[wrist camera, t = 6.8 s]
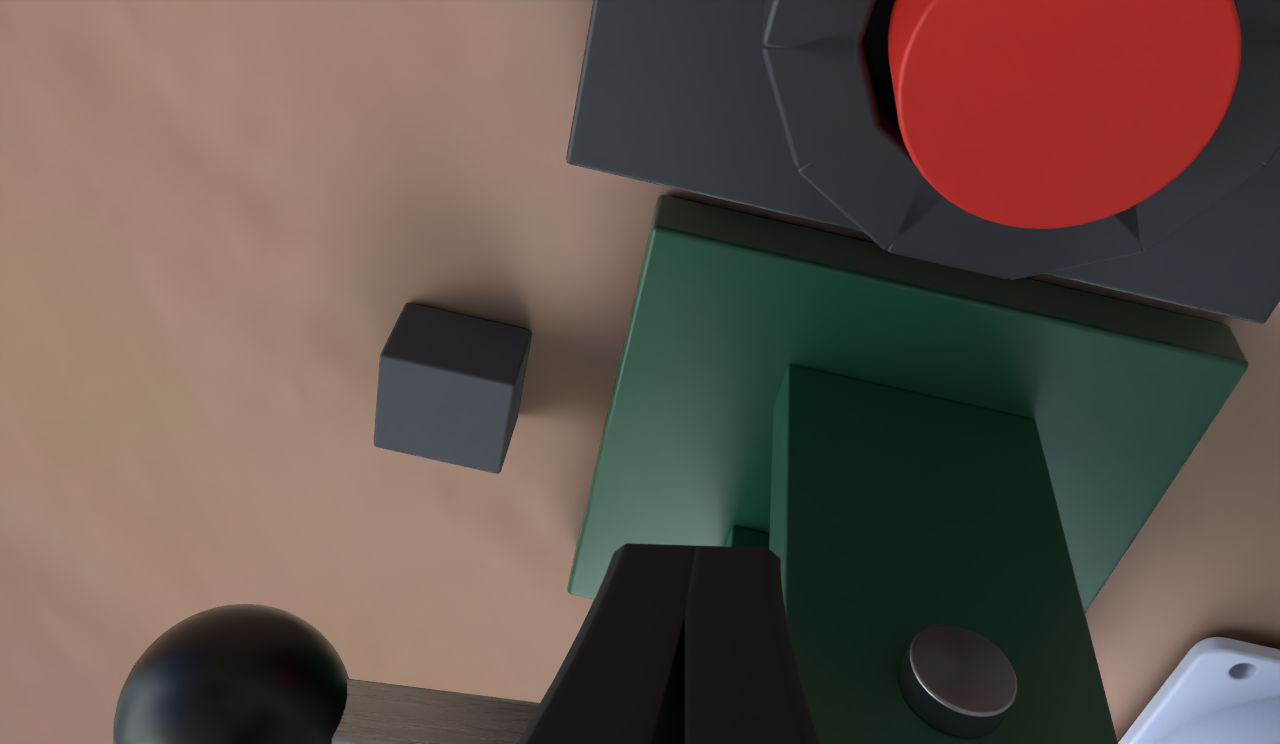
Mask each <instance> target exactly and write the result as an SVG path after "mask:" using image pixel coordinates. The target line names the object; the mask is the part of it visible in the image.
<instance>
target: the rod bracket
mask: <svg viewBox="0 0 1280 744" xmlns="http://www.w3.org/2000/svg"><path fill="white" fill-rule="evenodd" d="M1247 367H1248V361H1247V359H1246V357H1245V356H1244V354H1243V352H1242V350H1241V348H1240V346H1239V344H1238V342H1237V340H1236V338H1235V336H1234V334H1233V332H1232V331H1231V329H1230V327H1228V326H1227V325H1225V324H1221V323H1216V322H1212V321H1208V320H1203V319H1199V318H1195V317H1190V316H1186V315H1182V314H1177V313H1173V312H1169V311H1164V310H1160V309H1156V308H1151V307H1147V306H1143V305H1138V304H1134V303H1130V302H1125V301H1121V300H1117V299H1112V298H1108V297H1104V296H1099V295H1095V294H1091V293H1086V292H1082V291H1078V290H1073V289H1069V288H1065V287H1060V286H1056V285H1052V284H1048V283H1043V282H1039V281H1035V280H1030V279H1026V278H1020V279H1015V280H1010V279H1009V278H1008V279H1002V278H997V277H993V276H989V275H984V274H980V273H976V272H971V271H967V270H963V269H958V268H954V267H950V266H945V265H941V264H937V263H932V262H928V261H924V260H919V259H915V258H911V257H906V256H902V255H898V254H893V253H890V252H888V251H887V249H886V250H884V249H882V248H881V247H880V246H879V245H878V244H874V243H870V242H866V241H861V240H857V239H853V238H848V237H844V236H840V235H835V234H831V233H827V232H822V231H818V230H814V229H809V228H805V227H801V226H796V225H792V224H788V223H783V222H779V221H775V220H770V219H766V218H762V217H757V216H753V215H749V214H744V213H740V212H736V211H731V210H727V209H723V208H718V207H714V206H710V205H705V204H701V203H697V202H692V201H688V200H684V199H679V198H675V197H671V196H666V195H661V196H660V197H659V198H658V199H657V204H656V208H655V212H654V217H653V221H652V225H651V229H650V234H649V238H648V242H647V247H646V251H645V255H644V259H643V264H642V268H641V272H640V276H639V281H638V285H637V289H636V294H635V298H634V302H633V306H632V311H631V315H630V319H629V324H628V328H627V332H626V336H625V341H624V345H623V349H622V353H621V358H620V362H619V366H618V371H617V375H616V379H615V383H614V388H613V392H612V396H611V401H610V405H609V409H608V413H607V418H606V422H605V426H604V430H603V435H602V439H601V443H600V448H599V452H598V456H597V460H596V465H595V469H594V473H593V478H592V482H591V486H590V490H589V495H588V499H587V503H586V507H585V512H584V516H583V520H582V525H581V529H580V533H579V537H578V542H577V546H576V550H575V555H574V559H573V564H572V568H571V573H570V578H569V582H568V587H567V590H568V593H570V594H572V595H577V596H582V597H586V598H591V599H595V597H596V595H597V592H598V590H599V588H600V586H601V583H602V581H603V579H604V576H605V574H606V571H607V569H608V566H609V564H610V561H611V559H612V556H613V553H614V552H615V551H616V550H618V549H619V548H620V547H622V546H623V545H624V544H626V543H632V544H662V545H693V546H724V547H755V548H768V549H770V550H771V551H772V552H773V553H774V554H776V555H777V556H778V557H779V558H781V583H782V591H783V600H784V606H785V612H786V618H787V624H788V629H789V634H790V638H791V643H792V648H793V652H794V656H795V660H796V664H797V668H798V672H799V676H800V680H801V684H802V688H803V691H804V695H805V698H806V702H807V705H808V708H809V712H810V715H811V719H812V722H813V725H814V728H815V731H816V734H817V737H818V740H819V743H820V744H1118V742H1117V738H1116V734H1115V730H1114V726H1113V722H1112V718H1111V714H1110V711H1109V707H1108V703H1107V699H1106V695H1105V691H1104V687H1103V683H1102V679H1101V675H1100V671H1099V667H1098V663H1097V659H1096V656H1095V652H1094V648H1093V644H1092V640H1091V636H1090V632H1089V628H1088V624H1087V620H1086V616H1085V613H1086V611H1087V609H1088V608H1089V606H1090V605H1091V603H1092V602H1093V600H1094V599H1095V597H1096V596H1097V594H1098V593H1099V591H1100V590H1101V588H1102V587H1103V585H1104V584H1105V582H1106V581H1107V579H1108V578H1109V576H1110V575H1111V573H1112V572H1113V570H1114V569H1115V567H1116V566H1117V564H1118V563H1119V561H1120V560H1121V558H1122V557H1123V555H1124V554H1125V552H1126V551H1127V549H1128V548H1129V546H1130V545H1131V543H1132V542H1133V540H1134V539H1135V537H1136V536H1137V534H1138V533H1139V531H1140V530H1141V528H1142V526H1143V525H1144V523H1145V522H1146V520H1147V519H1148V517H1149V516H1150V514H1151V513H1152V511H1153V510H1154V508H1155V507H1156V505H1157V504H1158V502H1159V501H1160V499H1161V498H1162V496H1163V495H1164V493H1165V492H1166V490H1167V489H1168V487H1169V486H1170V484H1171V483H1172V481H1173V480H1174V478H1175V477H1176V475H1177V474H1178V472H1179V471H1180V469H1181V468H1182V466H1183V465H1184V463H1185V462H1186V460H1187V459H1188V457H1189V456H1190V454H1191V453H1192V451H1193V450H1194V448H1195V446H1196V445H1197V443H1198V442H1199V440H1200V439H1201V437H1202V436H1203V434H1204V433H1205V431H1206V430H1207V428H1208V427H1209V425H1210V424H1211V422H1212V421H1213V419H1214V418H1215V416H1216V415H1217V413H1218V412H1219V410H1220V409H1221V407H1222V406H1223V404H1224V403H1225V401H1226V400H1227V398H1228V397H1229V395H1230V394H1231V392H1232V391H1233V389H1234V388H1235V386H1236V385H1237V383H1238V382H1239V380H1240V379H1241V377H1242V376H1243V374H1244V373H1245V371H1246V370H1247Z"/></svg>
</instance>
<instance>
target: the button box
mask: <svg viewBox="0 0 1280 744" xmlns="http://www.w3.org/2000/svg"><path fill="white" fill-rule="evenodd" d="M894 1H895V0H594V1H593V7H592V13H591V18H590V24H589V30H588V36H587V41H586V47H585V53H584V59H583V64H582V70H581V76H580V82H579V87H578V93H577V99H576V105H575V110H574V116H573V122H572V128H571V134H570V139H569V145H568V151H567V157H566V159H567V163H569V164H572V165H576V166H581V167H585V168H589V169H593V170H598V171H602V172H606V173H611V174H615V175H619V176H624V177H628V178H632V179H637V180H641V181H645V182H650V183H654V184H658V185H663V186H667V187H671V188H676V189H680V190H684V191H689V192H693V193H697V194H702V195H706V196H710V197H715V198H719V199H723V200H728V201H732V202H736V203H741V204H745V205H749V206H754V207H758V208H762V209H767V210H771V211H775V212H780V213H784V214H788V215H793V216H797V217H801V218H805V219H810V220H814V221H818V222H823V223H827V224H831V225H836V226H840V227H844V228H849V229H853V230H857V231H862V232H864V233H865V234H866V235H868V236H869V237H870V238H871V239H872V240H873V241H874V242H875V243H876V244H878V245H879V246H880V247H881V248H882V249H884V250H886V249H887V251H888V252H890V253H893V254H898V255H902V256H906V257H911V258H915V259H919V260H924V261H928V262H932V263H937V264H941V265H945V266H950V267H954V268H958V269H963V270H967V271H971V272H976V273H980V274H984V275H989V276H993V277H997V278H1002V279H1008V278H1009V279H1010V280H1015V279H1020V278H1024V277H1029V276H1034V275H1039V274H1048V275H1052V276H1056V277H1061V278H1065V279H1069V280H1074V281H1078V282H1082V283H1087V284H1091V285H1095V286H1100V287H1104V288H1108V289H1113V290H1117V291H1121V292H1126V293H1130V294H1134V295H1139V296H1143V297H1147V298H1152V299H1156V300H1160V301H1165V302H1169V303H1173V304H1178V305H1182V306H1186V307H1191V308H1195V309H1199V310H1204V311H1208V312H1212V313H1216V314H1221V315H1225V316H1229V317H1234V318H1238V319H1242V320H1247V321H1251V322H1255V323H1260V324H1263V323H1265V322H1266V321H1267V319H1268V318H1269V316H1270V314H1271V313H1272V311H1273V310H1274V308H1275V307H1276V305H1277V304H1278V302H1279V301H1280V0H1234V3H1235V6H1236V10H1237V13H1238V17H1239V22H1240V30H1241V38H1242V45H1241V63H1240V69H1239V74H1238V80H1237V84H1236V87H1235V90H1234V93H1233V96H1232V99H1231V102H1230V105H1229V107H1228V109H1227V111H1226V113H1225V115H1224V117H1223V119H1222V122H1221V124H1220V125H1219V127H1218V128H1217V130H1216V131H1215V133H1214V135H1213V136H1212V138H1211V139H1210V141H1209V142H1208V144H1207V145H1206V146H1205V147H1204V149H1203V150H1202V151H1201V152H1200V154H1199V155H1198V156H1197V157H1196V159H1195V160H1194V161H1193V162H1192V163H1191V164H1190V165H1189V166H1188V167H1187V168H1186V169H1185V170H1184V171H1183V172H1182V173H1181V174H1180V175H1178V176H1177V177H1176V178H1175V179H1173V180H1172V181H1171V182H1170V183H1168V184H1167V185H1166V186H1165V187H1163V188H1162V189H1161V190H1159V191H1158V192H1156V193H1155V194H1153V195H1151V196H1150V197H1148V198H1147V199H1145V200H1144V201H1142V202H1140V203H1138V204H1136V205H1134V206H1132V207H1130V208H1128V209H1126V210H1124V211H1122V212H1119V213H1117V214H1114V215H1112V216H1109V217H1106V218H1104V219H1100V220H1097V221H1093V222H1089V223H1086V224H1082V225H1075V226H1069V227H1063V228H1048V229H1035V228H1020V227H1014V226H1008V225H1002V224H999V223H995V222H992V221H989V220H985V219H983V218H980V217H978V216H976V215H974V214H971V213H969V212H967V211H965V210H963V209H961V208H960V207H958V206H956V205H955V204H953V203H952V202H950V201H949V200H947V199H946V198H945V197H944V196H942V195H941V194H940V193H939V192H938V191H936V190H935V189H934V188H933V187H932V186H931V185H930V183H929V182H928V181H927V180H926V179H925V178H924V177H923V176H922V174H921V173H920V171H919V170H918V168H917V167H916V165H915V164H914V162H913V161H912V159H911V157H910V155H909V152H908V150H907V148H906V146H905V144H904V141H903V137H902V134H901V131H900V127H899V122H898V115H897V109H896V103H895V96H894V90H893V83H892V77H891V70H890V64H889V57H888V31H889V23H890V16H891V12H892V8H893V5H894Z"/></svg>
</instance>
